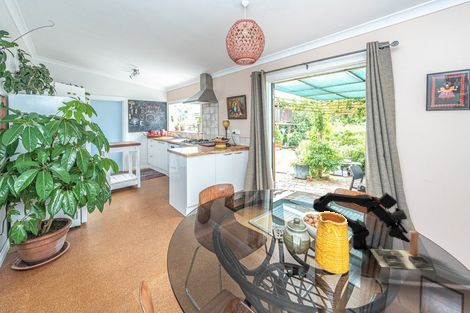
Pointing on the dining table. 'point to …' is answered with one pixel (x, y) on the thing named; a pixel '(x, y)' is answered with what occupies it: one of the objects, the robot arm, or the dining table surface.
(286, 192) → the dining table surface
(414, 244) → the terracotta pin
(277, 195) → the dining table surface
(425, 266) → the pin board
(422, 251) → the dining table surface
